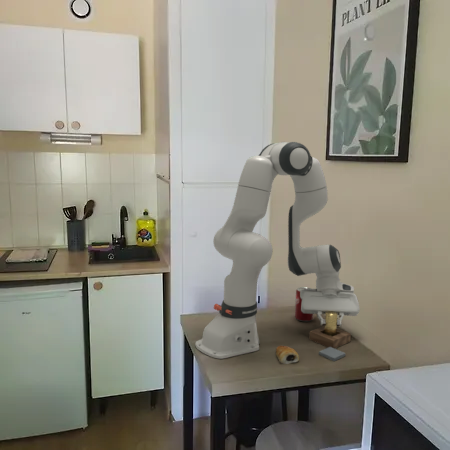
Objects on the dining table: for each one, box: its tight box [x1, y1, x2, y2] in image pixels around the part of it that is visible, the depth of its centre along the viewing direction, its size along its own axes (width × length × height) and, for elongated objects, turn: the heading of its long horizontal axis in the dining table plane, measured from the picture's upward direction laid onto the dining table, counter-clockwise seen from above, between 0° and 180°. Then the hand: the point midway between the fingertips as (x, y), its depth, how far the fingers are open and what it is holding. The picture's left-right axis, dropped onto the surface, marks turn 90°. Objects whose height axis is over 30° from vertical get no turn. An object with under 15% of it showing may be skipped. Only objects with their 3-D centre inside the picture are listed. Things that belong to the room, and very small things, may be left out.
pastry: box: [275, 345, 300, 365], centre depth 141 cm, size 9×7×4 cm
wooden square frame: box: [308, 325, 352, 349], centre depth 155 cm, size 10×10×3 cm
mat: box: [318, 347, 346, 362], centre depth 143 cm, size 6×6×1 cm
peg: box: [324, 311, 338, 337], centre depth 154 cm, size 4×4×10 cm
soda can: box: [294, 286, 314, 323], centre depth 174 cm, size 7×7×12 cm
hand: (331, 325), depth 153 cm, fingers closed on peg, 4 cm apart
